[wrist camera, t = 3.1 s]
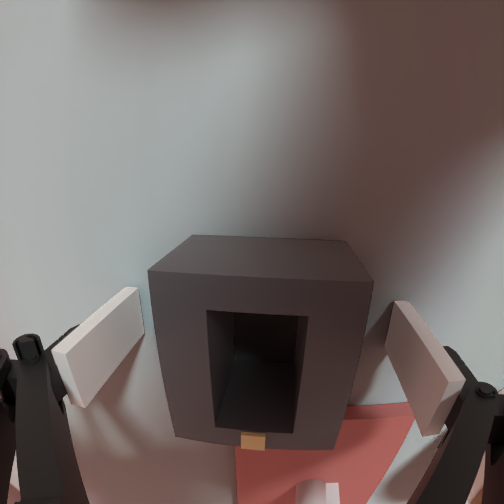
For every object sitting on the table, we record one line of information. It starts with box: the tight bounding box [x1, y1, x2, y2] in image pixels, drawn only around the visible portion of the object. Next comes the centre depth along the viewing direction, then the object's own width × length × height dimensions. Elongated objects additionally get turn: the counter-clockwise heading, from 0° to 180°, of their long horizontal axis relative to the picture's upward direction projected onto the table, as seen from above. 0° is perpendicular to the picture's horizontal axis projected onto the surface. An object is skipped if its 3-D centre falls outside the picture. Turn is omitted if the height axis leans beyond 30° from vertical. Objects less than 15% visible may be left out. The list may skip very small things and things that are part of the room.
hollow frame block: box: [148, 235, 374, 451], centre depth 12 cm, size 8×7×5 cm
